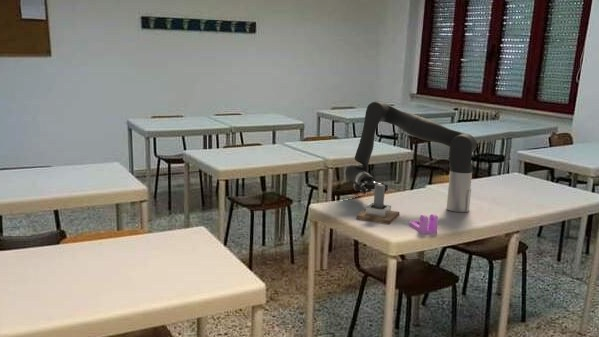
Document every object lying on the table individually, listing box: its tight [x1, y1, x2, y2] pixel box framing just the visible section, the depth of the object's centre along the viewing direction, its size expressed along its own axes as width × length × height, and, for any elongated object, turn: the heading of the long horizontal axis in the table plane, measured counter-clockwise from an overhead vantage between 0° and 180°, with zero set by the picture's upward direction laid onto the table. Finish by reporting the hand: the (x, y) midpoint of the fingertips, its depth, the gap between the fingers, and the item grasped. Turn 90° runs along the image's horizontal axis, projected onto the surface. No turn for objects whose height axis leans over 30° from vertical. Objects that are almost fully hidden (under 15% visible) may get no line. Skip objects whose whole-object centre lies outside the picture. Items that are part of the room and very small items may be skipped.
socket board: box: [355, 202, 400, 225], centre depth 222 cm, size 14×14×4 cm
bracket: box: [409, 213, 439, 235], centre depth 209 cm, size 13×6×7 cm, turn 17°
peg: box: [373, 183, 385, 209], centre depth 221 cm, size 4×4×12 cm
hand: (374, 190), depth 227 cm, fingers open, 8 cm apart
